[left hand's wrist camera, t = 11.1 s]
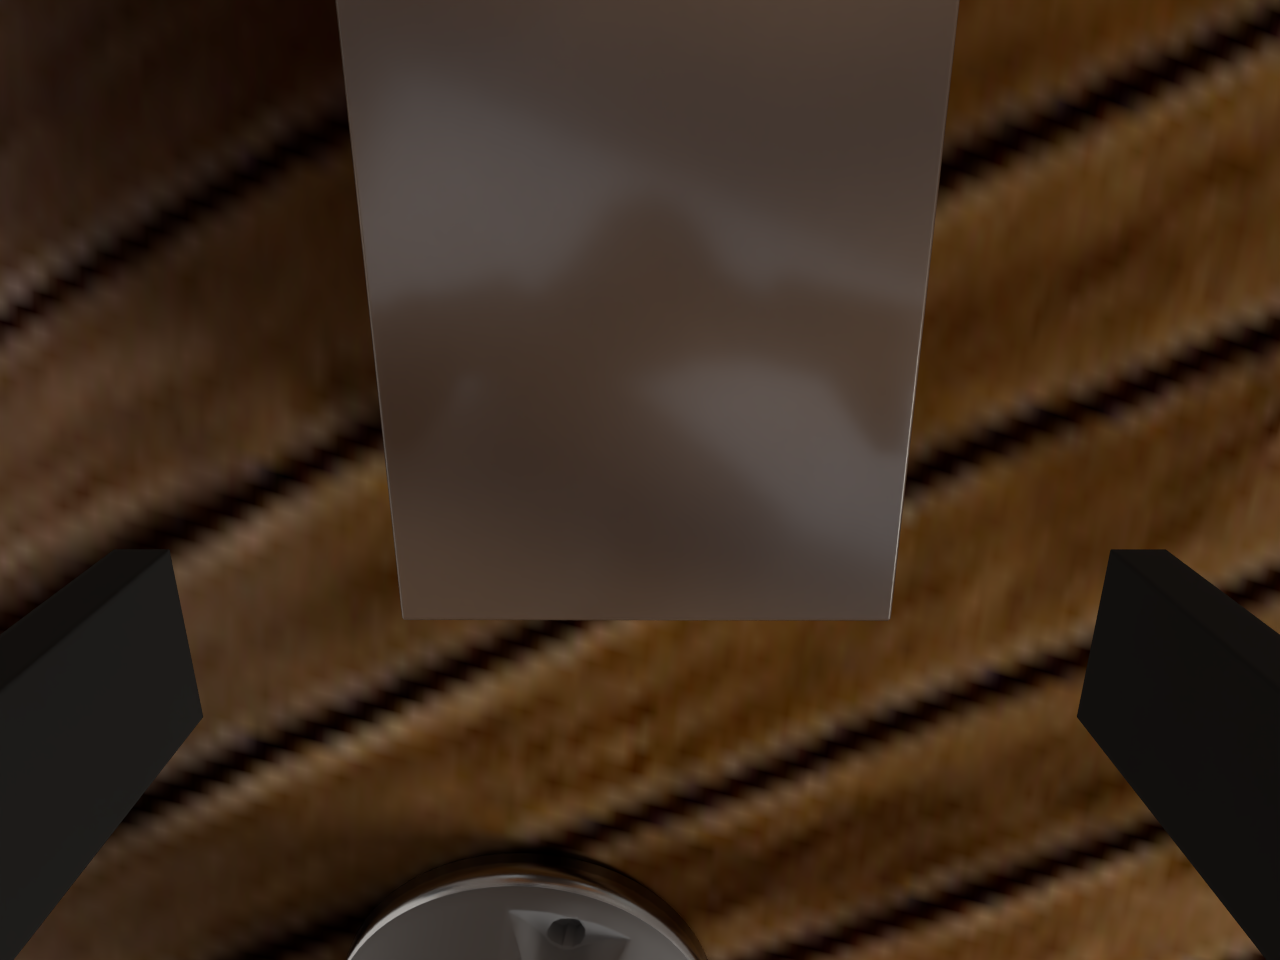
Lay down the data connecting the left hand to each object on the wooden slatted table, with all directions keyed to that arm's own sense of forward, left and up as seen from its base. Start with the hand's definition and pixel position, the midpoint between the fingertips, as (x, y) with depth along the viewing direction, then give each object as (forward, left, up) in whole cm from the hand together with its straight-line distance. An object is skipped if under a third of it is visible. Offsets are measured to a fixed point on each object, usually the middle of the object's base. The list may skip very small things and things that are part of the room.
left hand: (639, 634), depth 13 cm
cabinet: (+4, +7, -16) cm, 18 cm away
